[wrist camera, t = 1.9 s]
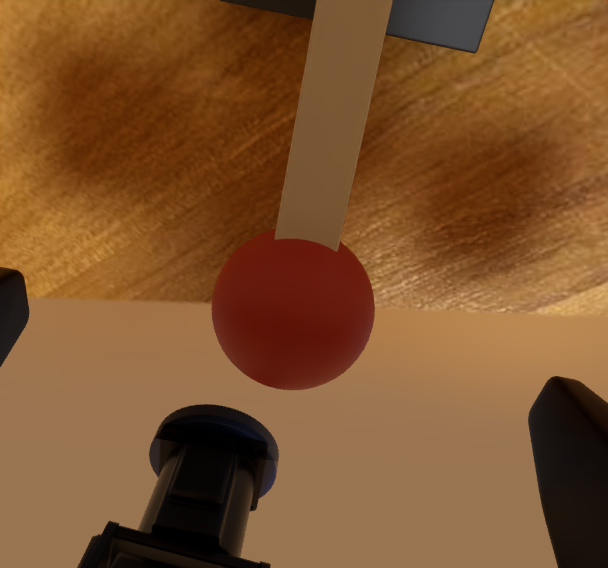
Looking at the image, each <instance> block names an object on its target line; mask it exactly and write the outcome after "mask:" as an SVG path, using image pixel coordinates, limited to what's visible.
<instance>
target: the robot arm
mask: <svg viewBox="0 0 608 568" xmlns="http://www.w3.org/2000/svg"><path fill="white" fill-rule="evenodd" d="M28 318H29V306H28V299H27V293H26V286H25V280H24V277H23V275H22V273H21V272H19V271H18V270H14V269H9V268H4V267H0V367H1V365H2V364H3V362H4V360H5V359H6V357H7V356H8V354H9V352H10V351H11V349H12V347H13V346H14V344H15V343H16V341H17V339H18V338H19V336H20V334H21V333H22V331H23V329H24V328H25V326H26V324H27V322H28ZM528 423H529V430H530V437H531V443H532V449H533V456H534V462H535V468H536V474H537V481H538V487H539V493H540V498H541V503H542V508H543V513H544V517H545V521H546V525H547V528H548V532H549V536H550V539H551V543H552V546H553V550H554V554H555V558H556V562H557V565H558V568H608V403H607V402H606V401H604V400H603V399H602V398H601V397H599V396H598V395H597V394H595V393H594V392H593V391H592V390H590V389H589V388H588V387H586V386H585V385H584V384H583V383H581V382H580V381H578V380H574V379H569V378H564V377H559V376H555V377H551V378H550V379H549V380H548V381H547V383H546V384H545V386H544V387H543V389H542V391H541V392H540V394H539V396H538V397H537V399H536V401H535V402H534V404H533V406H532V408H531V410H530V412H529V418H528ZM268 450H269V445H268V444H267V443H266V442H264V441H260V440H255V439H250V438H244V437H239V436H234V435H229V434H224V433H218V432H213V431H208V430H203V429H197V428H192V427H187V426H182V425H177V424H171V423H166V424H164V425H163V426H162V428H161V431H160V449H159V478H158V481H157V483H156V486H155V488H154V491H153V493H152V496H151V498H150V501H149V503H148V506H147V508H146V511H145V513H144V516H143V518H142V521H141V523H140V525H139V528H138V530H134V529H131V528H127V527H123V526H119V523H116V522H112V521H109V522H108V524H107V525H106V527H105V529H104V531H103V533H102V534H101V535H100V534H99V535H97V536H93V537H92V539H91V541H90V543H89V545H88V547H87V549H86V552H85V553H84V555H83V557H82V560H81V561H80V563H79V565H78V567H77V568H270V564H269V563H265V562H261V561H260V563H257V562H254V561H250V560H246V559H243V558H240V556H241V551H242V546H243V541H244V536H245V531H246V526H247V521H248V517H249V512H250V511H254V510H256V508H257V504H258V499H259V494H260V489H261V484H262V480H263V475H264V470H265V465H266V460H267V455H268Z"/></svg>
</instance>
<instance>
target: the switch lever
mask: <svg viewBox="0 0 608 568" xmlns="http://www.w3.org/2000/svg"><path fill="white" fill-rule="evenodd" d="M392 2H393V0H317V1H316V7H315V13H314V18H313V24H312V29H311V35H310V41H309V46H308V52H307V58H306V63H305V69H304V74H303V80H302V86H301V91H300V97H299V102H298V108H297V114H296V119H295V125H294V131H293V136H292V142H291V147H290V153H289V159H288V164H287V170H286V175H285V181H284V187H283V192H282V198H281V203H280V209H279V215H278V220H277V226H276V229H273V230H270V231H266V232H264V233H261V234H259V235H257V236H255V237H253V238H252V239H250V240H248V241H247V242H246V243H244V244H243V245H242V246H241V247H239V248H238V249H237V250H236V251H235V252H234V253H233V254H232V255H231V256H230V258H229V259H228V260H227V262H226V263H225V265H224V267H223V268H222V270H221V272H220V274H219V276H218V279H217V281H216V284H215V287H214V292H213V298H212V320H213V325H214V330H215V332H216V336H217V338H218V341H219V343H220V345H221V347H222V349H223V351H224V352H225V354H226V355H227V357H228V358H229V359H230V361H231V362H232V363H233V364H234V365H235V366H236V367H237V368H238V369H239V370H240V371H242V372H243V373H244V374H245V375H247V376H248V377H250V378H251V379H253V380H255V381H257V382H259V383H261V384H264V385H266V386H269V387H273V388H277V389H283V390H303V389H309V388H313V387H317V386H319V385H322V384H325V383H327V382H329V381H331V380H333V379H335V378H337V377H338V376H340V375H341V374H343V373H344V372H345V371H346V370H347V369H348V368H349V367H350V366H351V365H352V364H353V363H354V362H355V361H356V360H357V358H358V357H359V356H360V354H361V353H362V351H363V350H364V348H365V346H366V344H367V342H368V340H369V337H370V333H371V330H372V327H373V321H374V312H375V305H374V295H373V290H372V286H371V283H370V280H369V278H368V275H367V273H366V271H365V269H364V268H363V266H362V264H361V263H360V261H359V260H358V259H357V257H356V256H355V255H354V254H353V253H352V252H351V251H350V250H349V249H348V248H347V247H346V246H345V245H344V244H342V243H341V242H340V239H341V234H342V230H343V225H344V221H345V216H346V212H347V207H348V202H349V198H350V193H351V189H352V184H353V180H354V175H355V170H356V166H357V161H358V157H359V152H360V148H361V143H362V139H363V134H364V129H365V125H366V120H367V116H368V111H369V107H370V102H371V97H372V93H373V88H374V84H375V79H376V75H377V70H378V65H379V61H380V56H381V52H382V47H383V43H384V38H385V34H386V29H387V24H388V20H389V15H390V11H391V6H392Z"/></svg>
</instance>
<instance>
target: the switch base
mask: <svg viewBox="0 0 608 568" xmlns="http://www.w3.org/2000/svg"><path fill="white" fill-rule="evenodd" d="M220 1H223V2H228V3H233V4H237V5H242V6H247V7H252V8H257V9H262V10H267V11H271V12H276V13H281V14H286V15H291V16H296V17H301V18H305V19H310V20H313V18H314V13H315V7H316V1H317V0H220ZM493 3H494V0H393V2H392V6H391V11H390V15H389V20H388V24H387V29H386V34H385V35H388V36H393V37H398V38H402V39H407V40H412V41H417V42H422V43H427V44H432V45H436V46H441V47H446V48H451V49H456V50H461V51H466V52H470V53H476V52H477V51H478V48H479V45H480V42H481V39H482V36H483V33H484V30H485V27H486V24H487V21H488V18H489V15H490V12H491V9H492V6H493Z"/></svg>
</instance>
